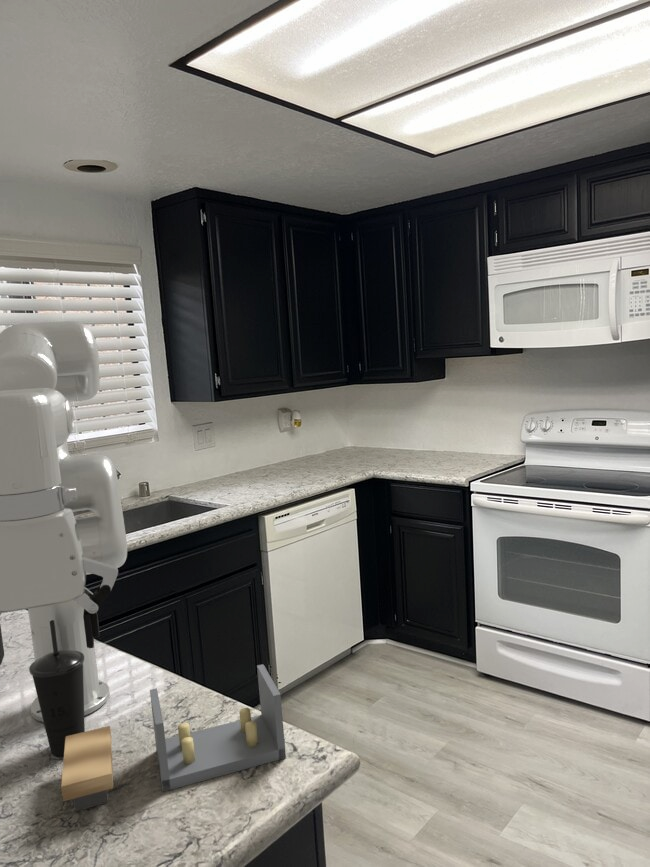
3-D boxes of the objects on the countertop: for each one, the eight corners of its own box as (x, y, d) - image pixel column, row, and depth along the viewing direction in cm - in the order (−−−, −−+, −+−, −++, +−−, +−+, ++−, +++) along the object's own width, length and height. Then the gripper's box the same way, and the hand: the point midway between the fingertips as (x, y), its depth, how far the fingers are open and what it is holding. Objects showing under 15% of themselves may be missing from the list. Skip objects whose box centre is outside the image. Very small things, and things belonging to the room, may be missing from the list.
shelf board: (67, 749, 93) (65, 736, 92) (111, 738, 94) (109, 725, 94) (63, 801, 81) (61, 786, 81) (113, 788, 83) (111, 773, 83)
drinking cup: (40, 742, 100) (24, 617, 98) (92, 727, 103) (78, 607, 101) (40, 769, 93) (22, 636, 91) (96, 753, 96) (80, 623, 94)
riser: (76, 775, 91) (74, 755, 91) (106, 767, 93) (104, 748, 92) (75, 811, 84) (72, 789, 83) (107, 802, 85) (105, 781, 85)
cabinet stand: (156, 750, 96) (149, 689, 95) (268, 722, 101) (263, 664, 100) (162, 791, 86) (155, 724, 85) (285, 757, 92) (280, 694, 91)
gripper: (108, 488, 78) (124, 625, 80) (-54, 509, 72) (-33, 655, 74) (109, 500, 71) (126, 649, 73) (-71, 523, 65) (-48, 685, 67)
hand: (45, 652), depth 74 cm, fingers open, 9 cm apart
